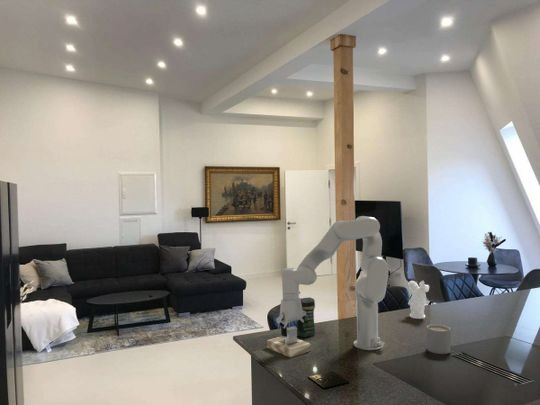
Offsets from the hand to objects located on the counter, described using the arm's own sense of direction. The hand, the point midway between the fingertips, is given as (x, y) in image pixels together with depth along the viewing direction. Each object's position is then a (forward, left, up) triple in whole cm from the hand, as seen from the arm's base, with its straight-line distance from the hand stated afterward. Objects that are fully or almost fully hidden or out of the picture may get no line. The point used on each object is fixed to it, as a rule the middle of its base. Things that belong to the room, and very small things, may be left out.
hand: (292, 333), depth 192 cm
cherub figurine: (-7, -92, -8) cm, 93 cm away
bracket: (+2, +1, -8) cm, 8 cm away
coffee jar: (+12, -19, -8) cm, 24 cm away
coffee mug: (-42, -52, -8) cm, 68 cm away
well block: (+2, +1, -8) cm, 8 cm away
